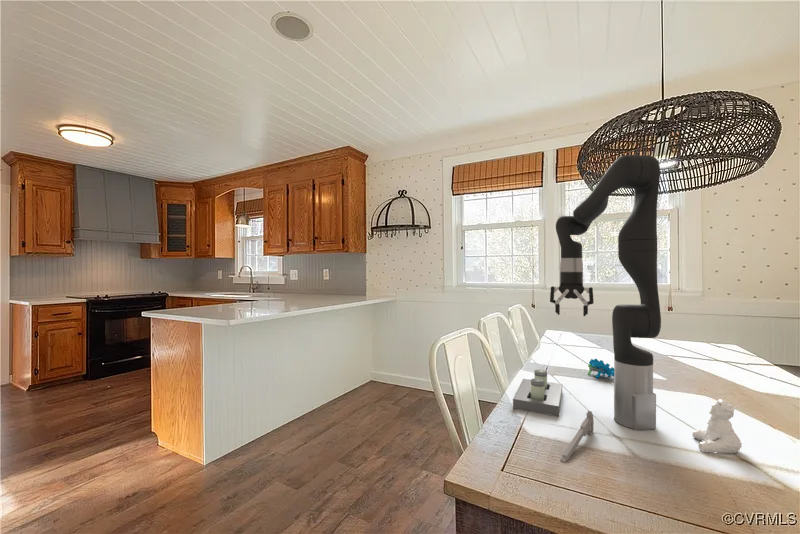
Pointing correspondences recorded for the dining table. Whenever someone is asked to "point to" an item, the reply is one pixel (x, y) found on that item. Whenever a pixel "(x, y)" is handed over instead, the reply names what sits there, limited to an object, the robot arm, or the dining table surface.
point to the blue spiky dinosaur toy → (600, 368)
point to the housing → (539, 406)
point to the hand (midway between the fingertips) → (571, 315)
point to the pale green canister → (537, 389)
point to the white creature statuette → (719, 431)
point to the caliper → (579, 436)
